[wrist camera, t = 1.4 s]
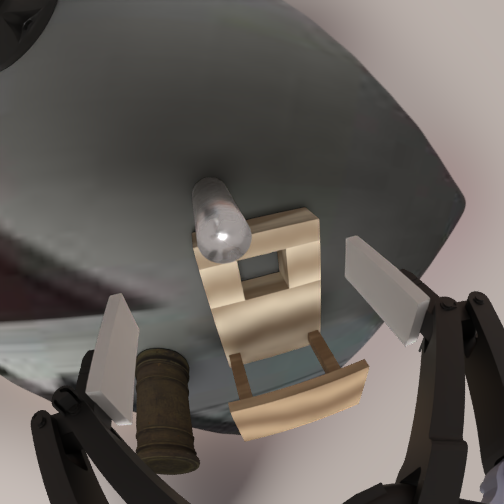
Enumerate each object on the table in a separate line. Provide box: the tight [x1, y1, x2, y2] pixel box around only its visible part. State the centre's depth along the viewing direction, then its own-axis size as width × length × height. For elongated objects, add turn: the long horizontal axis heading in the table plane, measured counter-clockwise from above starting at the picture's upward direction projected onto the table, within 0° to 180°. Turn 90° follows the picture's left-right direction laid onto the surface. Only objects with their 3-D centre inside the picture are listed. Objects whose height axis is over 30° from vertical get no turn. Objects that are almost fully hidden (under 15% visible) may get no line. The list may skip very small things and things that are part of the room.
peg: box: [192, 177, 252, 264], centre depth 25 cm, size 4×4×12 cm
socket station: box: [192, 207, 369, 441], centre depth 31 cm, size 20×15×16 cm
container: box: [135, 349, 200, 475], centre depth 33 cm, size 9×9×18 cm
